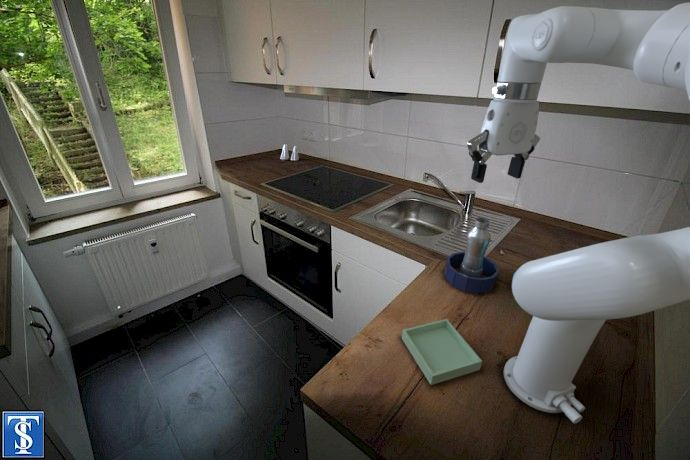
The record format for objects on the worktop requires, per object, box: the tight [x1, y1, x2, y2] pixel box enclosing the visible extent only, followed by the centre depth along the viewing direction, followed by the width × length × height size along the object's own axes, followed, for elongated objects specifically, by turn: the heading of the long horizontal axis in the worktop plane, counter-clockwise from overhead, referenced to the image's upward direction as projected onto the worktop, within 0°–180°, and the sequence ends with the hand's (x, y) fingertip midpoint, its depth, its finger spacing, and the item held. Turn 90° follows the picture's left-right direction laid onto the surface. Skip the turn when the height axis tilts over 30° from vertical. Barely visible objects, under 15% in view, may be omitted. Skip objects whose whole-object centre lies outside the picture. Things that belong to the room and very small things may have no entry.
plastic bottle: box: [459, 217, 492, 278], centre depth 93 cm, size 6×7×20 cm
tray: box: [401, 318, 483, 386], centre depth 71 cm, size 13×12×3 cm
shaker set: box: [280, 143, 300, 162], centre depth 211 cm, size 12×4×11 cm, turn 97°
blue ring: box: [444, 251, 500, 295], centre depth 96 cm, size 15×15×5 cm
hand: (495, 178), depth 68 cm, fingers open, 9 cm apart
